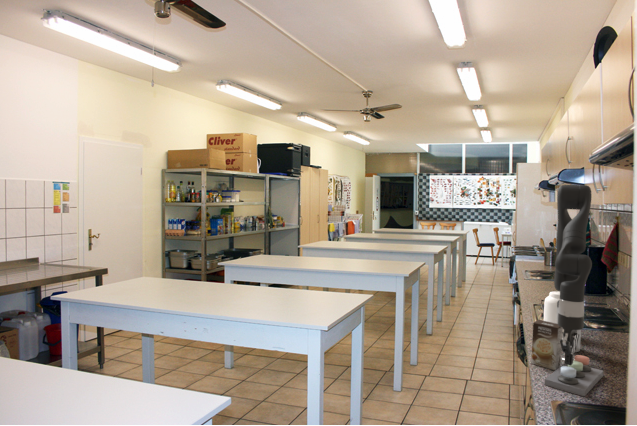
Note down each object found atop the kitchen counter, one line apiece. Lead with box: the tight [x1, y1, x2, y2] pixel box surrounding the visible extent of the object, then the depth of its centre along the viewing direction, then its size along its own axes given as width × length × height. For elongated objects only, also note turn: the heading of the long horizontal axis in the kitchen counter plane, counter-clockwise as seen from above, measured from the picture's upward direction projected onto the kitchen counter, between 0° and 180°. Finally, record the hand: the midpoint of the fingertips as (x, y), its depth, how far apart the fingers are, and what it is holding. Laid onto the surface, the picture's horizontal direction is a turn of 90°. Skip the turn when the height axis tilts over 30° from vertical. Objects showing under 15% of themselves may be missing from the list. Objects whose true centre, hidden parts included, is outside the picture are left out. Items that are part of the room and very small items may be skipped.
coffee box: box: [530, 319, 563, 371], centre depth 171 cm, size 9×6×16 cm
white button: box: [560, 365, 576, 378], centre depth 151 cm, size 5×5×2 cm
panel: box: [544, 362, 604, 397], centre depth 157 cm, size 24×12×3 cm, turn 135°
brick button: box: [573, 354, 590, 366], centre depth 163 cm, size 5×5×2 cm
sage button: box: [568, 361, 583, 371], centre depth 157 cm, size 5×5×2 cm
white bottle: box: [543, 290, 560, 323], centre depth 209 cm, size 12×12×20 cm
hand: (568, 364), depth 151 cm, fingers closed
